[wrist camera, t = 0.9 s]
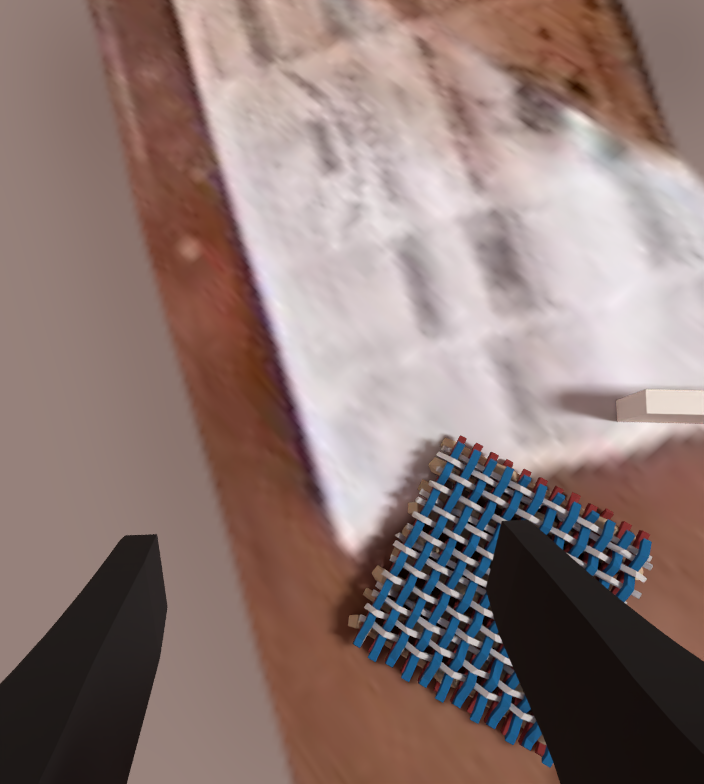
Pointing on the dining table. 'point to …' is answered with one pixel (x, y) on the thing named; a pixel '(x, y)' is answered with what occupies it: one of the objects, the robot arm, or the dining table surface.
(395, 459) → the dining table surface
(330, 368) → the dining table surface
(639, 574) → the woven mat
